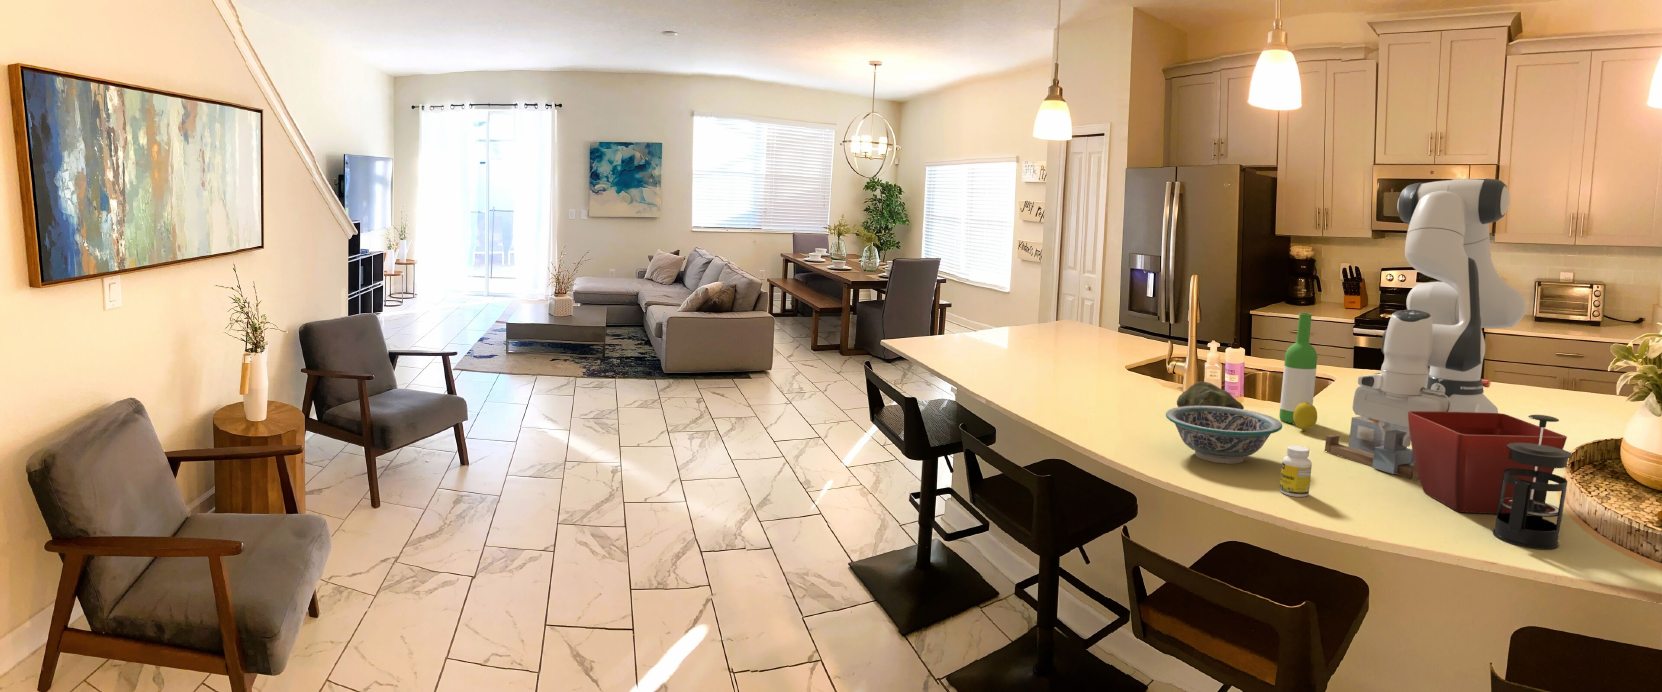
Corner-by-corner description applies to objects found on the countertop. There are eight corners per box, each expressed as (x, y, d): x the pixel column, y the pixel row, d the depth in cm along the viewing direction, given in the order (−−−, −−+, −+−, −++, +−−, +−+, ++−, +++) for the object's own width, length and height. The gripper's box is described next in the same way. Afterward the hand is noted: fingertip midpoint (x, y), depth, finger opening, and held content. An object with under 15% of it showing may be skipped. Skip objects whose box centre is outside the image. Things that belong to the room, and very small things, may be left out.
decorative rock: (1216, 408, 250) (1219, 375, 248) (1249, 422, 235) (1252, 387, 233) (1168, 410, 248) (1171, 376, 246) (1198, 424, 233) (1201, 388, 231)
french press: (1505, 525, 162) (1523, 406, 158) (1568, 541, 154) (1588, 417, 150) (1480, 538, 155) (1497, 415, 151) (1544, 556, 148) (1564, 427, 144)
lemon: (1318, 434, 223) (1321, 404, 222) (1295, 433, 224) (1298, 403, 223) (1311, 428, 228) (1314, 399, 227) (1289, 427, 230) (1292, 398, 228)
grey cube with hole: (1371, 445, 213) (1375, 414, 212) (1402, 454, 206) (1406, 422, 204) (1347, 449, 210) (1351, 417, 209) (1378, 458, 203) (1382, 425, 201)
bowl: (1269, 448, 211) (1273, 410, 209) (1286, 479, 188) (1291, 436, 186) (1161, 438, 219) (1164, 401, 217) (1164, 466, 196) (1167, 426, 194)
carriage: (1391, 464, 197) (1396, 427, 196) (1413, 471, 192) (1418, 433, 191) (1372, 467, 195) (1376, 430, 193) (1393, 474, 190) (1398, 435, 189)
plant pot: (1396, 485, 184) (1405, 409, 181) (1491, 489, 182) (1502, 412, 179) (1450, 518, 165) (1461, 434, 162) (1557, 523, 163) (1570, 437, 160)
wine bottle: (1293, 426, 231) (1304, 316, 226) (1272, 418, 239) (1282, 312, 233) (1317, 424, 233) (1329, 315, 228) (1295, 417, 240) (1306, 311, 235)
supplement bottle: (1273, 489, 181) (1278, 444, 179) (1298, 488, 181) (1302, 444, 180) (1289, 498, 176) (1294, 452, 174) (1314, 497, 176) (1319, 451, 174)
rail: (1333, 450, 209) (1335, 434, 208) (1426, 478, 188) (1429, 461, 187) (1324, 451, 208) (1326, 435, 207) (1417, 480, 187) (1419, 462, 186)
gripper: (1461, 392, 182) (1452, 455, 184) (1370, 373, 201) (1364, 431, 203) (1441, 394, 180) (1432, 458, 182) (1351, 375, 198) (1344, 433, 201)
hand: (1395, 443), depth 193 cm, fingers closed on carriage, 2 cm apart
